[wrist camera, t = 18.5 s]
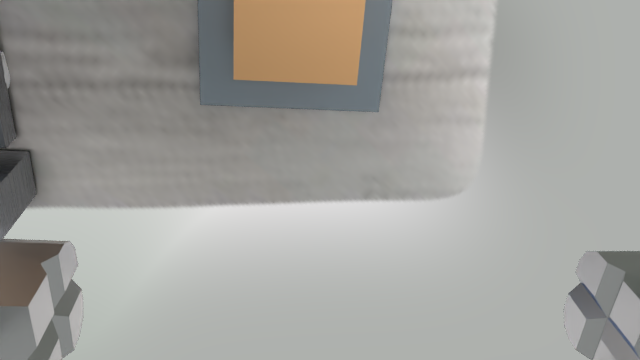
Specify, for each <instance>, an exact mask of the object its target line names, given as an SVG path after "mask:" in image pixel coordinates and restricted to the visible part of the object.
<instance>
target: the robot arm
mask: <svg viewBox="0 0 640 360" xmlns="http://www.w3.org/2000/svg"><path fill="white" fill-rule="evenodd" d="M77 266H78V262H77V257H76V252H75V247H74V246H73V244H72V243H71V242H70V241H47V240H20V239H1V240H0V360H62V358H64V357H65V356H66V355H68V354H69V353H71V352H72V351H74V349H75V346H76V344H77V341H78V339H79V336H80V332H81V326H82V321H83V296H82V289H81V288H80V287H79V286H78V285H77V284H76V283H75V282H74V281H73V280H72V279H71V278H72V277H73V274H74V272H75V270H76V268H77ZM576 274H577V276H578V278H579V280H580V282H581V283H580V284H579V285H578V286H576V287H575V288H574V289H573V290H572V291H571V292H570V293H569V294H568V296H567V300H566V304H565V307H564V326H565V329H566V332H567V335H568V338H569V340H570V341H571V343H572V345H573V346H574V348H575V349H576V350H577V351H578V352H580V353H581V354H583V355H584V356H586V357H587V358H589V359H591V360H640V251H587V252H586V253H585V254H584V255H583V256H582V257H581V259H580V261H579V263H578V266H577V269H576Z"/></svg>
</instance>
